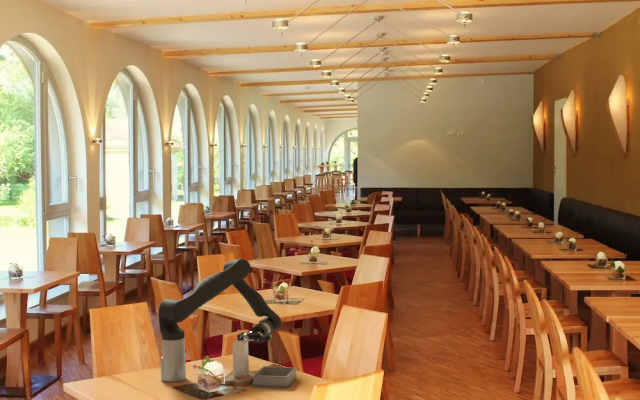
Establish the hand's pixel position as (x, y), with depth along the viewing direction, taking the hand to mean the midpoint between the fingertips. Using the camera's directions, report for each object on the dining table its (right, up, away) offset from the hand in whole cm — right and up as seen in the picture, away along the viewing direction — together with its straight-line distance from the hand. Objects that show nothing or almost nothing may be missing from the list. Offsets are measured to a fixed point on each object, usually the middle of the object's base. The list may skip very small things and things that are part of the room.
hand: (249, 340), depth 327 cm
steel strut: (-2, -12, -11) cm, 17 cm away
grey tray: (+12, -14, -16) cm, 25 cm away
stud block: (-2, -14, -11) cm, 18 cm away
